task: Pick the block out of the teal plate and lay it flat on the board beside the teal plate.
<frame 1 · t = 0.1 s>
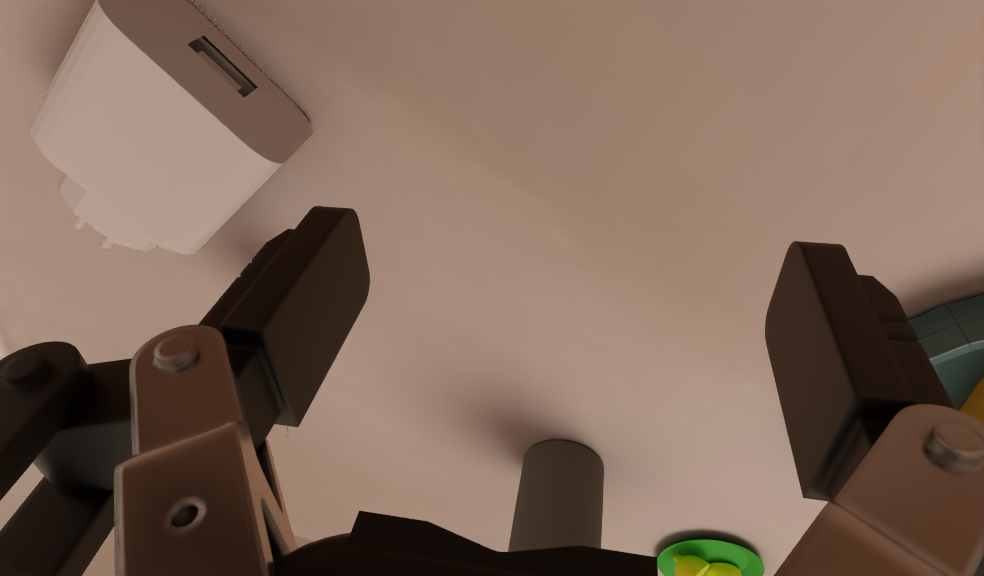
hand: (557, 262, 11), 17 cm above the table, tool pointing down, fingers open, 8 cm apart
lemons on green plate: (708, 556, 48), on the table
charger: (176, 141, 33), on the table
bottle: (563, 461, 44), on the table
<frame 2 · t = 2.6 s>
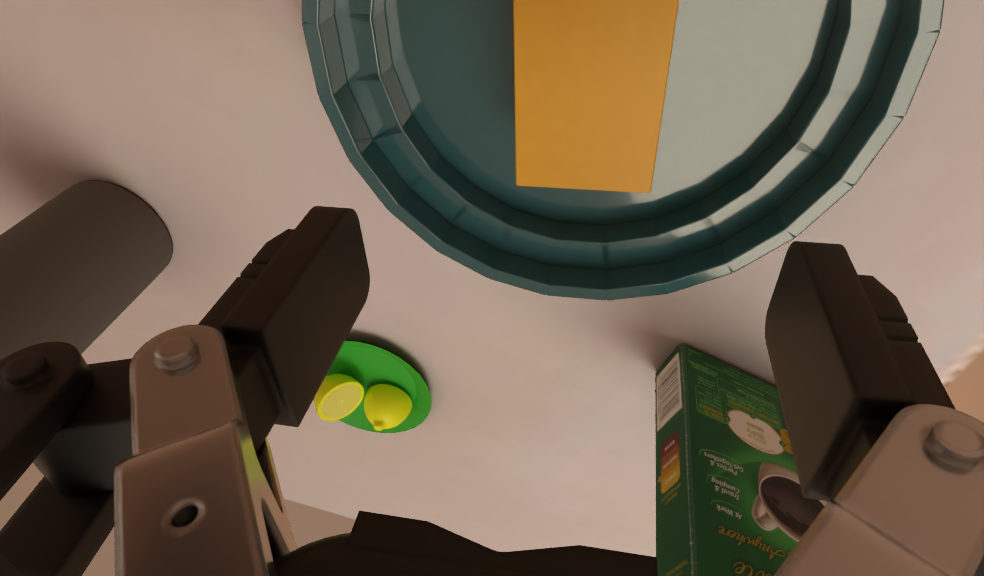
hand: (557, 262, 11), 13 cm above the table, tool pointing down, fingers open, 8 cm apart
lemons on green plate: (370, 379, 36), on the table
coffee box: (729, 382, 31), on the table
block: (595, 40, 21), resting on teal plate
teal plate: (595, 38, 21), on the table
bottle: (123, 226, 32), on the table
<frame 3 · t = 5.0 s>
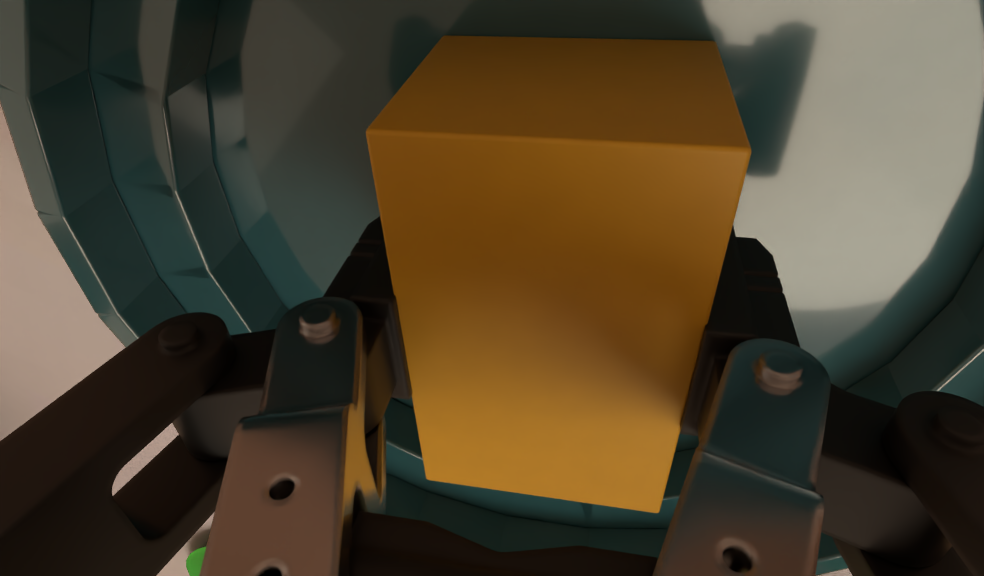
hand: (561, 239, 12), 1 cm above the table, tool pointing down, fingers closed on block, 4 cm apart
lemons on green plate: (281, 575, 27), on the table
block: (565, 225, 12), resting on teal plate, touching gripper
teal plate: (566, 219, 13), on the table
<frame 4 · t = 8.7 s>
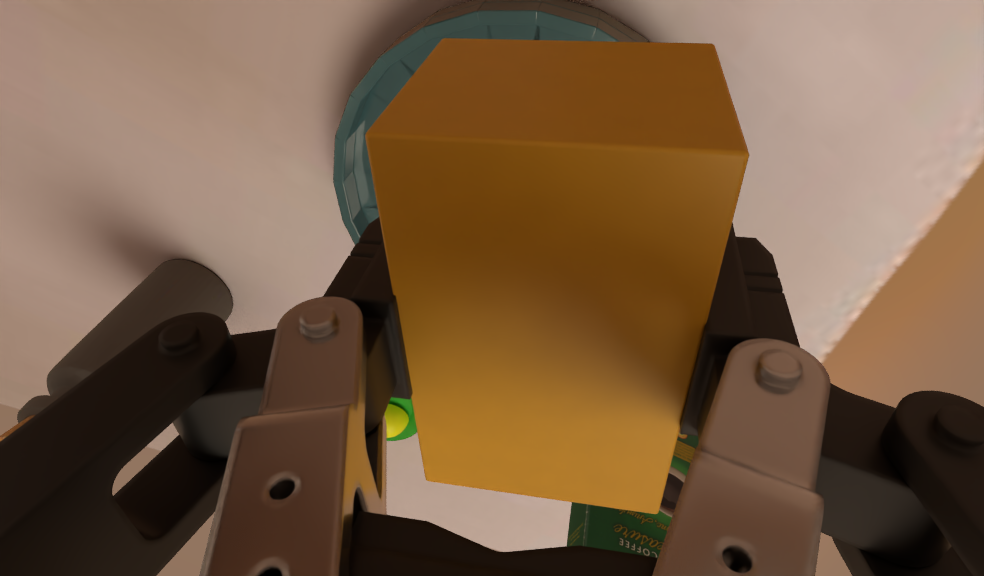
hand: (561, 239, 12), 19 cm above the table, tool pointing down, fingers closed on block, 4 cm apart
lemons on green plate: (376, 400, 48), on the table
coffee box: (639, 402, 42), on the table
block: (564, 226, 13), point 19 cm above the table, touching gripper
teal plate: (522, 183, 33), on the table
bottle: (197, 289, 44), on the table
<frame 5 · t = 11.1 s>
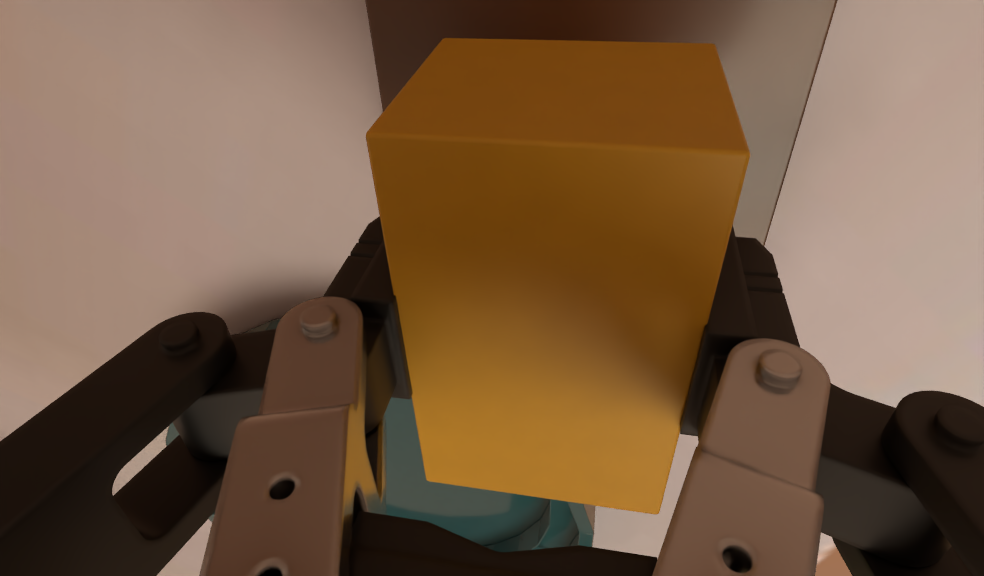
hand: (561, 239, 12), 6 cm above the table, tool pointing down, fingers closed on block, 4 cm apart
board: (581, 107, 17), on the table
block: (564, 226, 12), point 6 cm above the table, touching gripper
teal plate: (395, 460, 29), on the table
when the fingers open (1 cm above the table, at t = 12.8 s): block stays where it is, resting on board.
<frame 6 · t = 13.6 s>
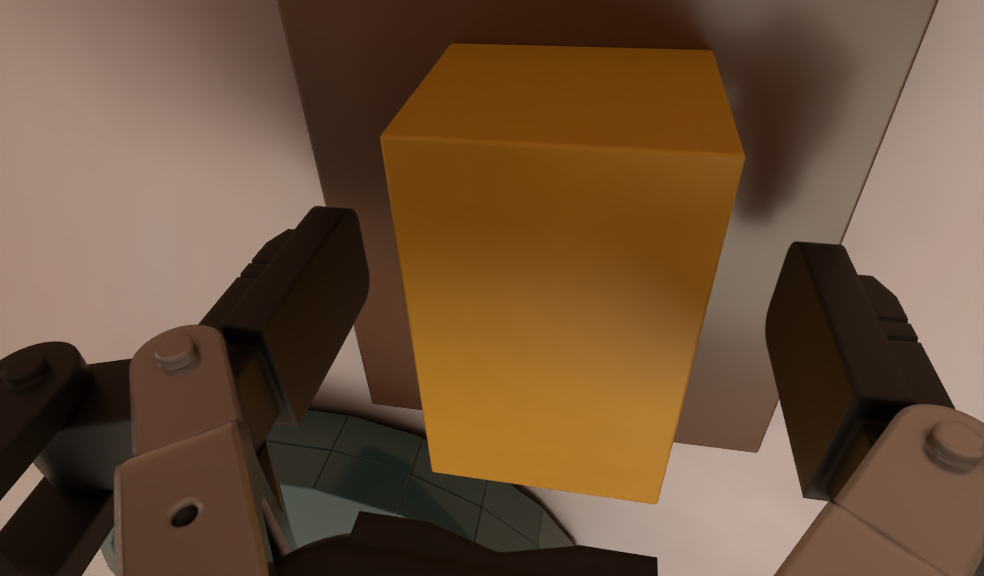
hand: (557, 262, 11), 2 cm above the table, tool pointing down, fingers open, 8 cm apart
board: (569, 199, 13), on the table
block: (567, 226, 13), point 1 cm above the table, touching board
teal plate: (362, 551, 26), on the table
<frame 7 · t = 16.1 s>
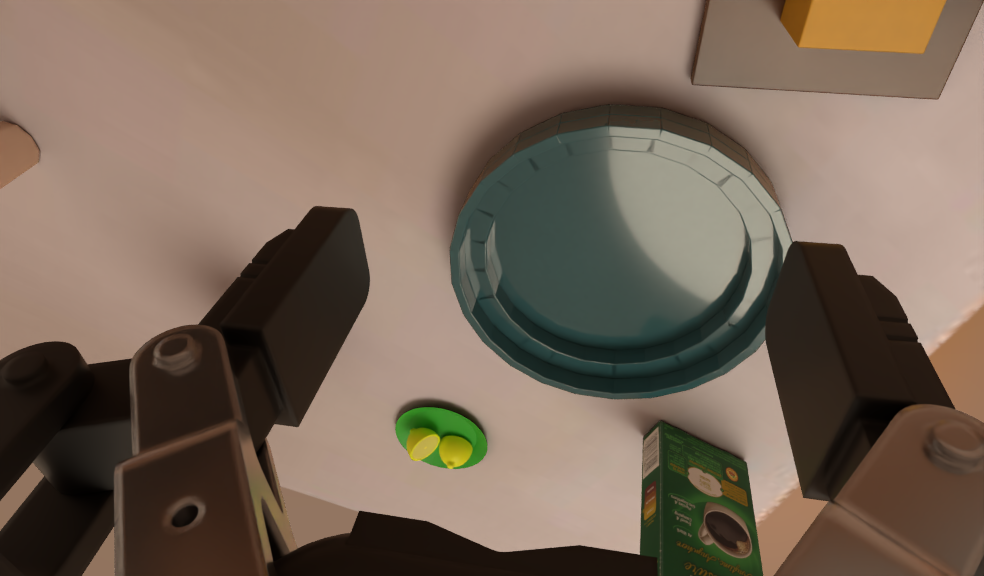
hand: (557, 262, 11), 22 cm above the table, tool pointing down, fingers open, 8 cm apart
lemons on green plate: (443, 431, 51), on the table
milkshake: (25, 144, 41), on the table
coffee box: (692, 445, 47), on the table
teal plate: (613, 255, 37), on the table
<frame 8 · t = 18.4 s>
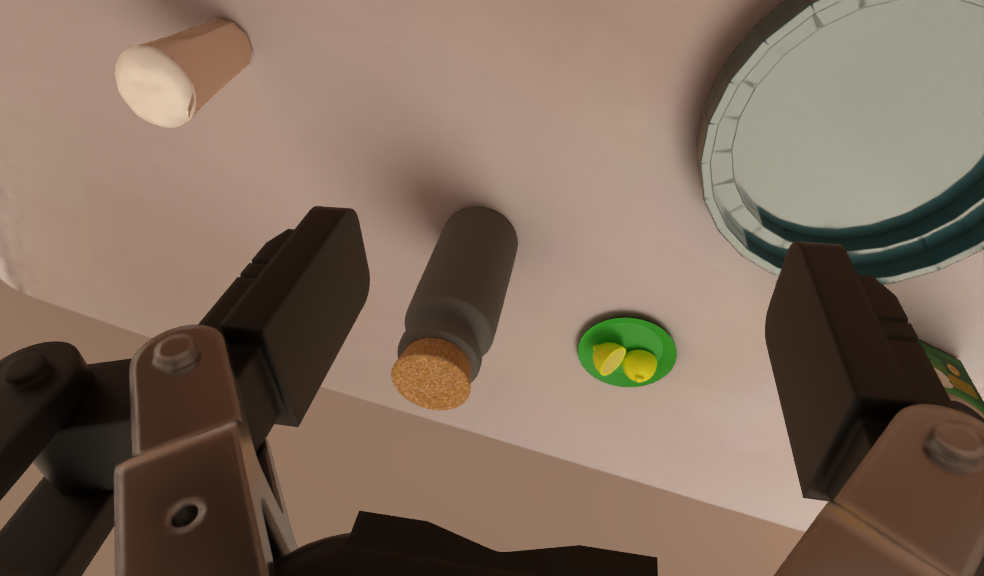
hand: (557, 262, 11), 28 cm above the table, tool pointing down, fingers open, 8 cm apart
lemons on green plate: (626, 347, 51), on the table
milkshake: (236, 44, 40), on the table
coffee box: (900, 346, 45), on the table
teal plate: (866, 129, 36), on the table
bottle: (481, 237, 46), on the table
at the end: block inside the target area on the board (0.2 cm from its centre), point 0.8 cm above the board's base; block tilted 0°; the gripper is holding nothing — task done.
